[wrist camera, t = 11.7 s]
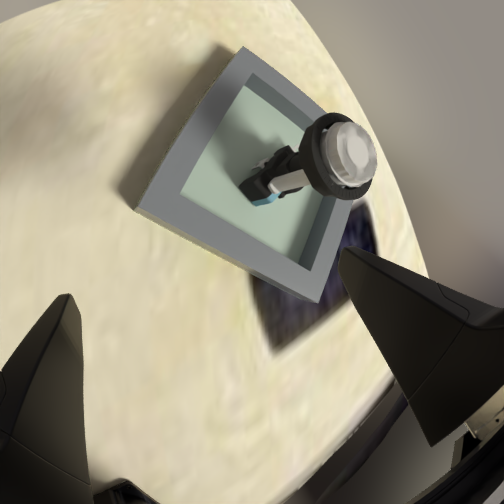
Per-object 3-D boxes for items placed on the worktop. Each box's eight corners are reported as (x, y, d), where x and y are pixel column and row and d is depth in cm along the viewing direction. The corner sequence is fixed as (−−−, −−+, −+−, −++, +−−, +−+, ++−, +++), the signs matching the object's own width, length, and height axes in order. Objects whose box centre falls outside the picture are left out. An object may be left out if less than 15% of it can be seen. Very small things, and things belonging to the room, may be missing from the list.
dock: (296, 298, 27) (317, 303, 24) (132, 212, 20) (137, 206, 17) (346, 158, 30) (367, 152, 28) (227, 62, 23) (243, 46, 21)
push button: (271, 128, 24) (358, 85, 16) (308, 174, 26) (400, 151, 18) (221, 176, 22) (307, 138, 13) (265, 226, 24) (363, 217, 16)
